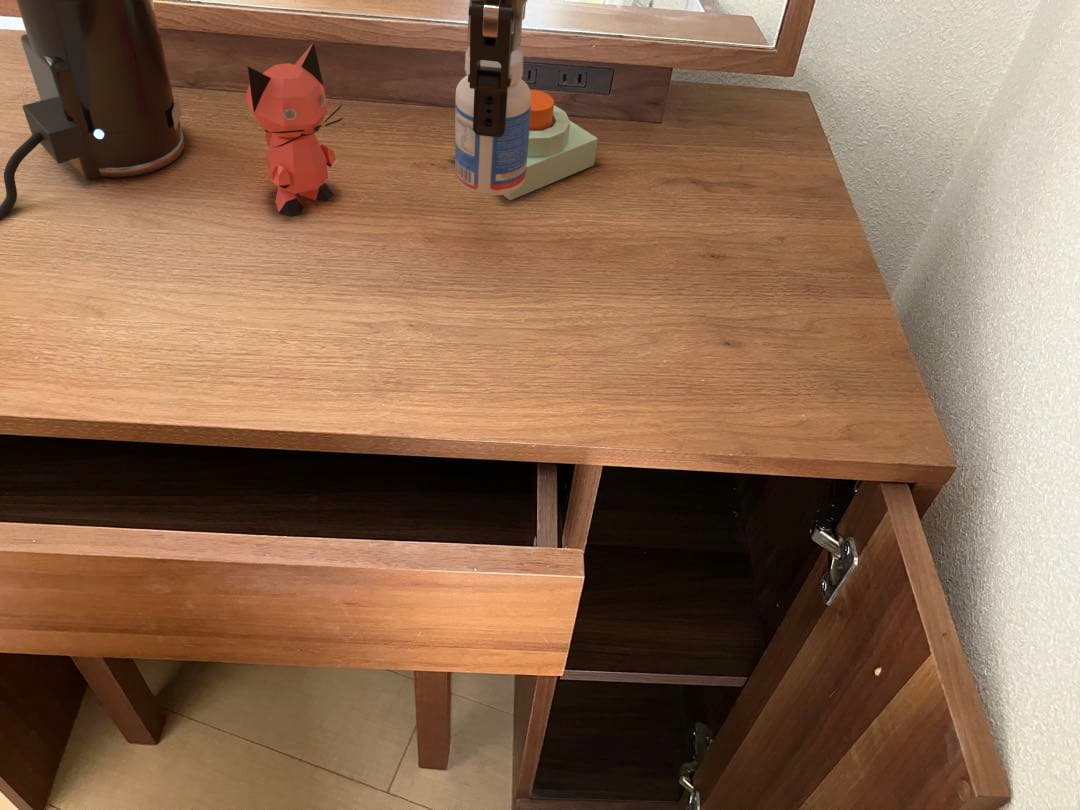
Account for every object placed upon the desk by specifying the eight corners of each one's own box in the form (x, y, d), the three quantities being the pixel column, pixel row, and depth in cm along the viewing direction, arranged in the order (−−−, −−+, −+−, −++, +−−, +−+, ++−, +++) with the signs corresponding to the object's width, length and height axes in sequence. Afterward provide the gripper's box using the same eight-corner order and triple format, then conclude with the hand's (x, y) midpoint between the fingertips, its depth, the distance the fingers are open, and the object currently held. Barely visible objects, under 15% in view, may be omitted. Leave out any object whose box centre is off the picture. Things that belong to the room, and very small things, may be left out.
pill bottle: (529, 164, 70) (540, 42, 63) (521, 202, 67) (531, 77, 60) (460, 155, 70) (463, 32, 63) (448, 192, 67) (450, 66, 60)
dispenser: (509, 200, 75) (513, 153, 72) (458, 163, 79) (459, 116, 76) (594, 165, 81) (601, 119, 77) (542, 131, 84) (547, 86, 81)
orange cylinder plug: (529, 137, 75) (531, 114, 73) (501, 118, 77) (502, 96, 75) (560, 125, 77) (563, 103, 75) (532, 107, 78) (534, 85, 77)
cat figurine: (291, 232, 70) (272, 87, 61) (236, 195, 72) (210, 51, 64) (360, 197, 74) (351, 56, 65) (305, 163, 76) (289, 24, 68)
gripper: (457, -193, 57) (452, 62, 70) (425, -124, 47) (426, 159, 60) (574, -180, 58) (549, 72, 70) (567, -108, 48) (539, 171, 60)
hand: (492, 111), depth 65 cm, fingers closed on pill bottle, 5 cm apart
